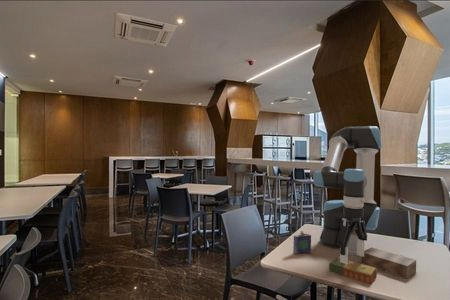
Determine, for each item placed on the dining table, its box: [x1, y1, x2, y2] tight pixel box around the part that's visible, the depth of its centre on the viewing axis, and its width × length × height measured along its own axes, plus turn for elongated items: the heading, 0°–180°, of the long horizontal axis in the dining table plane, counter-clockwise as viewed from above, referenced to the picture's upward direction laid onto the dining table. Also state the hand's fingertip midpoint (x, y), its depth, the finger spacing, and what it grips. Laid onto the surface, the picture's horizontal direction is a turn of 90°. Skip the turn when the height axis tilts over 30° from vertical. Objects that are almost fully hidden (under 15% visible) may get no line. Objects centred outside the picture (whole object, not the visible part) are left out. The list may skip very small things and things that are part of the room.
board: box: [342, 219, 365, 258], centre depth 133 cm, size 5×10×16 cm, turn 64°
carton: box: [328, 257, 378, 285], centre depth 111 cm, size 8×16×4 cm, turn 48°
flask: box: [292, 230, 312, 256], centre depth 133 cm, size 9×3×11 cm, turn 105°
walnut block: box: [360, 247, 417, 279], centre depth 118 cm, size 18×10×5 cm, turn 38°
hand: (352, 259), depth 110 cm, fingers open, 13 cm apart
